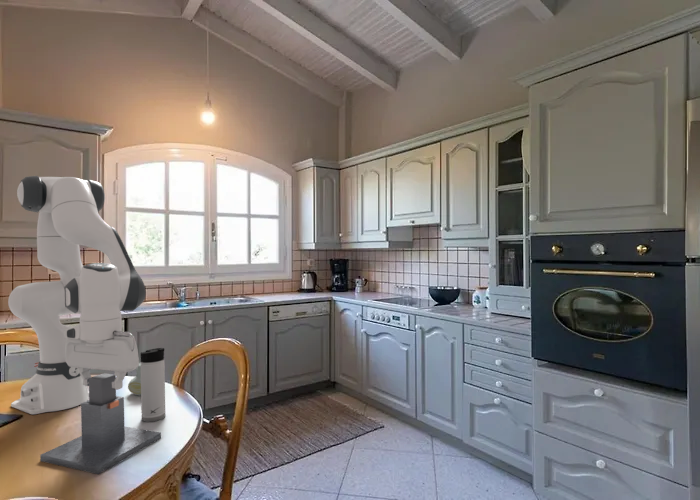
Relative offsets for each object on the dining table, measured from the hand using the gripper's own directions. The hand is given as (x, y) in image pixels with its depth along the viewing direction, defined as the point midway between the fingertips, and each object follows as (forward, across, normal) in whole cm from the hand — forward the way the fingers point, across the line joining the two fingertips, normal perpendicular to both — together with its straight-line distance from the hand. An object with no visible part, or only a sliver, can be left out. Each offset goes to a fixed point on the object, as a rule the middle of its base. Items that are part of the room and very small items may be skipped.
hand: (102, 386), depth 104 cm
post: (+13, 0, 0) cm, 13 cm away
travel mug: (+15, +3, -19) cm, 25 cm away
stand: (+15, 0, 0) cm, 15 cm away
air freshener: (+15, +22, -35) cm, 44 cm away
